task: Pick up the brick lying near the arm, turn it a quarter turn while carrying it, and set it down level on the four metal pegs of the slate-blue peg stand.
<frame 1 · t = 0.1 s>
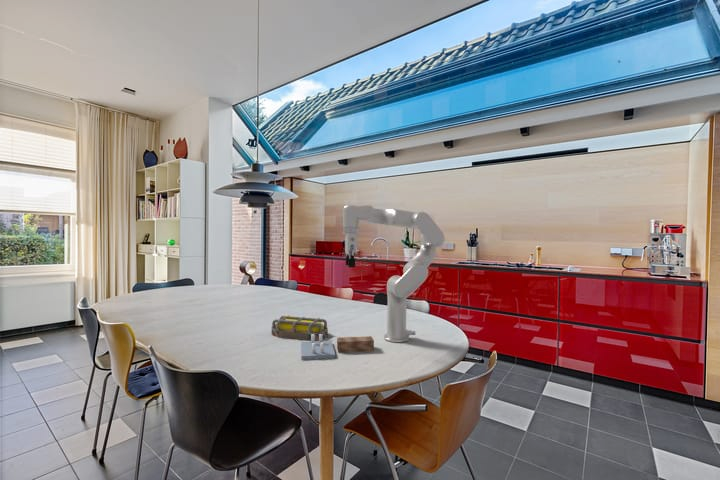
hand: (350, 266, 159), 37 cm above the table, tool pointing down, fingers open, 9 cm apart
peg stand: (317, 351, 145), on the table
brick: (355, 350, 148), on the table
cage light: (299, 335, 170), on the table
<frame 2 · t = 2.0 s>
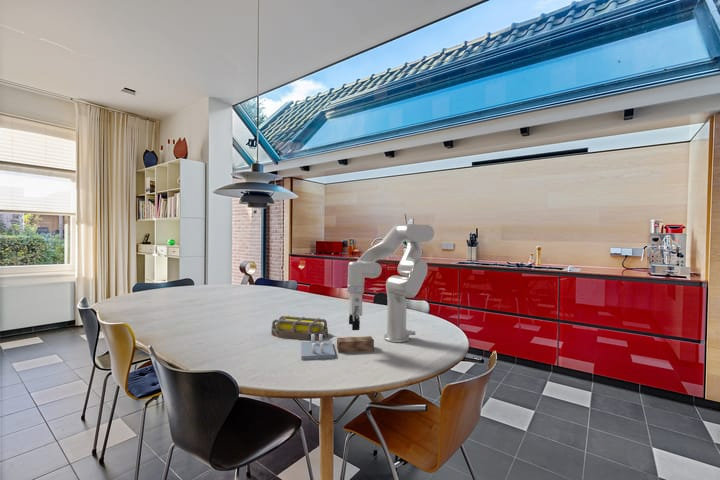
hand: (353, 327, 148), 10 cm above the table, tool pointing down, fingers open, 9 cm apart
nothing on the table moved.
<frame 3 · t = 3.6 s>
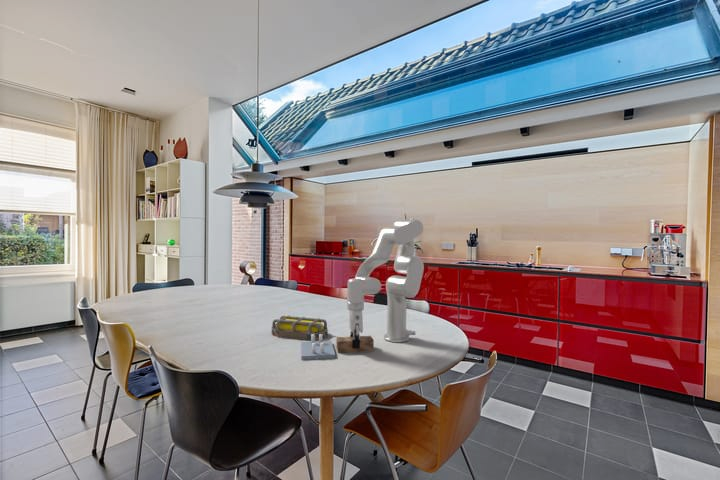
hand: (354, 345, 148), 2 cm above the table, tool pointing down, fingers closed on brick, 6 cm apart
brick: (354, 349, 148), on the table, touching gripper
everything else where it was.
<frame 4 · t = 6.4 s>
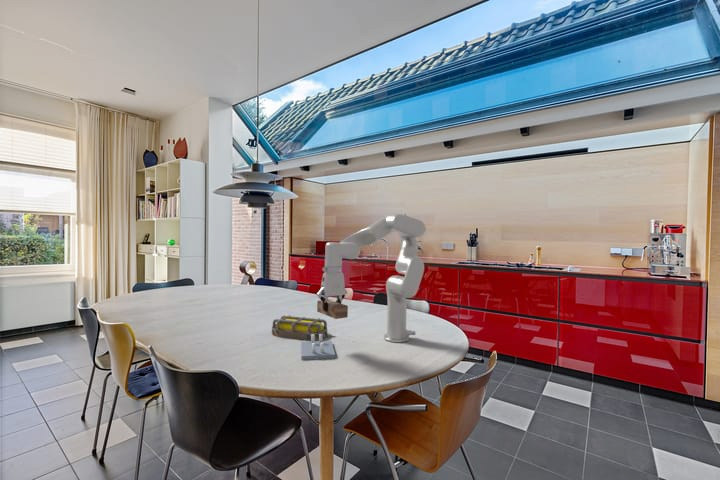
hand: (331, 309, 146), 18 cm above the table, tool pointing down, fingers closed on brick, 6 cm apart
brick: (331, 314, 146), point 16 cm above the table, touching gripper
everything else where it was.
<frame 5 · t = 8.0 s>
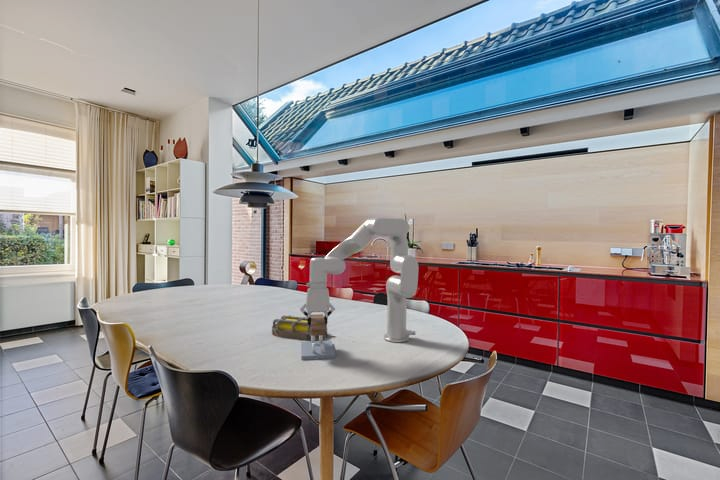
hand: (317, 325, 145), 11 cm above the table, tool pointing down, fingers closed on brick, 6 cm apart
brick: (317, 330, 145), point 9 cm above the table, touching gripper
everything else where it was.
when the fingers open (9 cm above the table, at t = 9.3 s): brick drops 2 cm, resting on peg stand.
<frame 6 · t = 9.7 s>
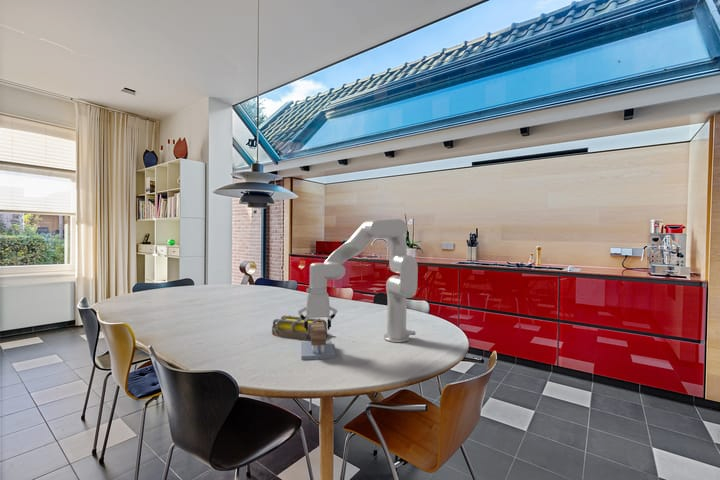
hand: (317, 329, 145), 10 cm above the table, tool pointing down, fingers open, 9 cm apart
brick: (317, 338, 145), point 5 cm above the table, touching peg stand
everything else where it was.
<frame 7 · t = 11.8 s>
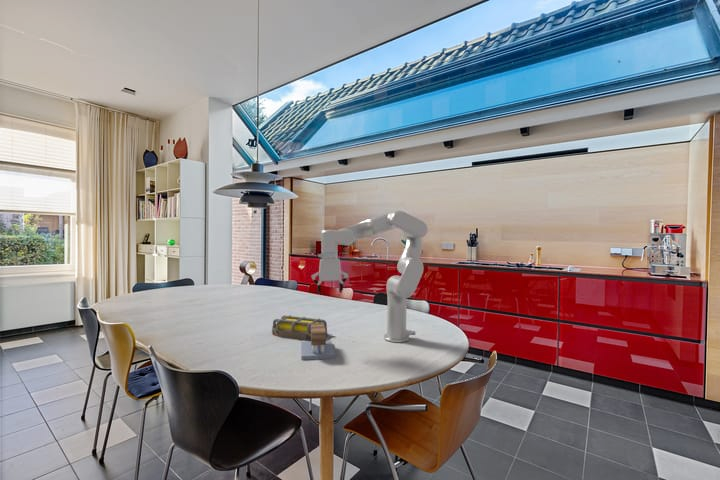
hand: (330, 292, 153), 25 cm above the table, tool pointing down, fingers open, 9 cm apart
nothing on the table moved.
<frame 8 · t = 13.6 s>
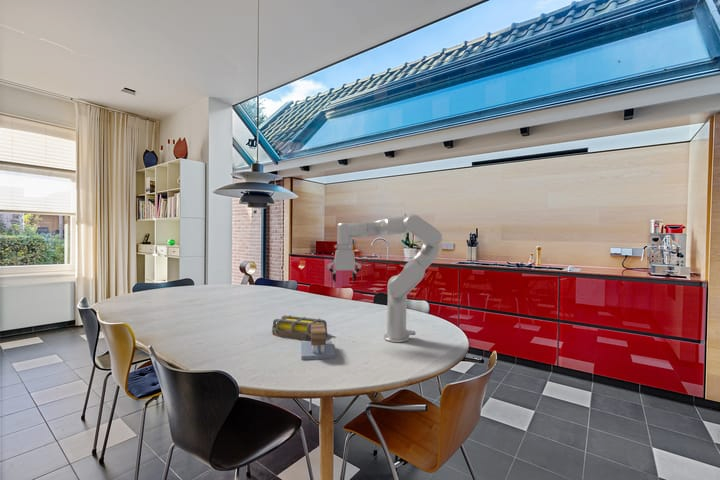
hand: (344, 281, 165), 28 cm above the table, tool pointing down, fingers open, 9 cm apart
nothing on the table moved.
at the end: brick 0.1 cm off-centre on the peg stand, point 5.5 cm above the peg stand's base; brick tilted 0°; the gripper is holding nothing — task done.
